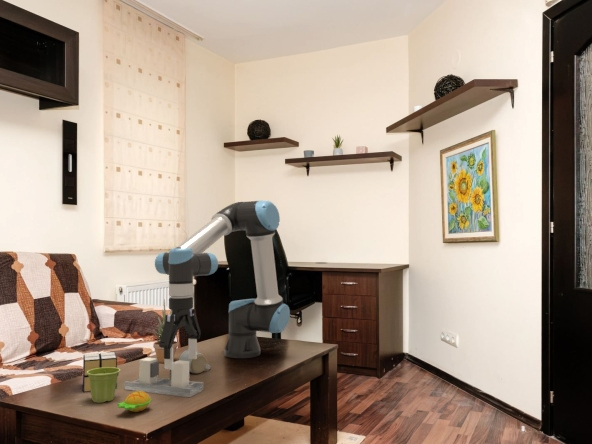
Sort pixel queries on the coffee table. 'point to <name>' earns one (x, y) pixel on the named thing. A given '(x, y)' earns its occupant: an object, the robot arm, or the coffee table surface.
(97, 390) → the plant pot
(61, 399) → the coffee table surface
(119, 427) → the coffee table surface
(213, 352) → the coffee table surface
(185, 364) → the beige jaw block
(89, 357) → the puzzle cube
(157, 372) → the block
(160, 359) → the potted plant
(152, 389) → the rail
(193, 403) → the coffee table surface
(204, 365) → the ceramic mug
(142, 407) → the yellow green oval
